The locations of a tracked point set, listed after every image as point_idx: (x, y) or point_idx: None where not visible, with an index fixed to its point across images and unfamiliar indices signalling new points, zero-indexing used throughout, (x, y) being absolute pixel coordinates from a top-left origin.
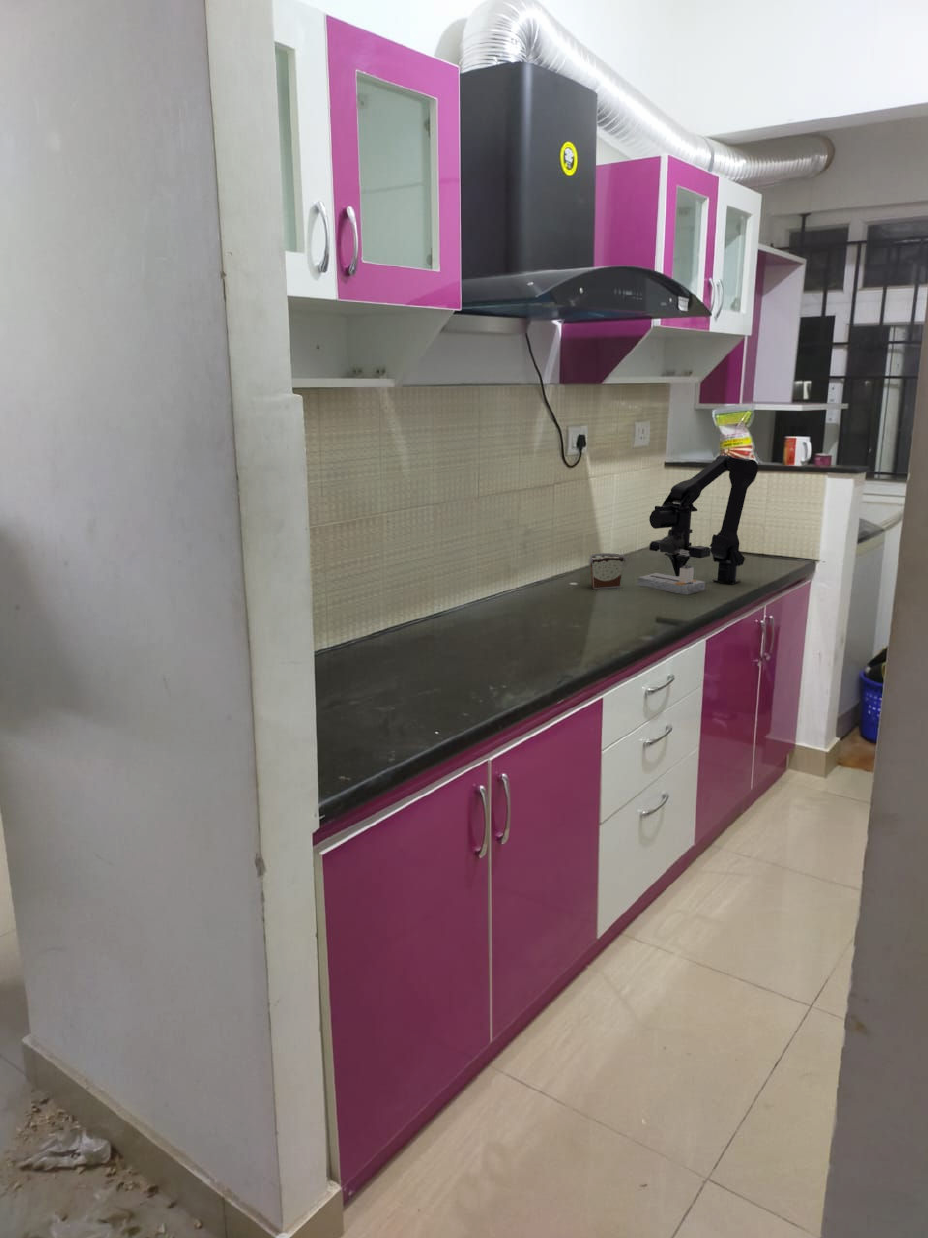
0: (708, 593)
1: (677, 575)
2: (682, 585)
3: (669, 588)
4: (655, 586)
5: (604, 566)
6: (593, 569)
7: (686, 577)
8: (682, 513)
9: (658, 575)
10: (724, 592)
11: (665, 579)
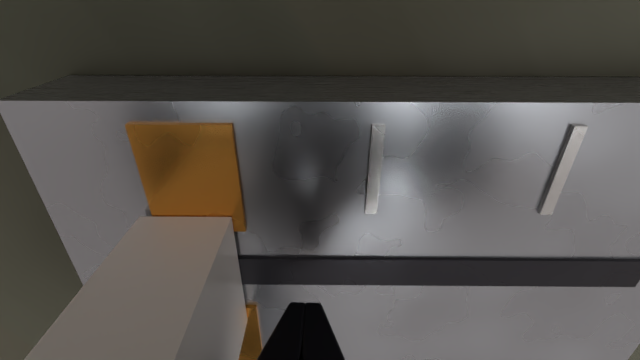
0: (40, 249)
1: (291, 308)
2: (87, 116)
3: (283, 82)
4: (476, 82)
5: None
6: None
7: (101, 273)
8: None
9: (568, 323)
10: (25, 330)
11: (435, 240)
